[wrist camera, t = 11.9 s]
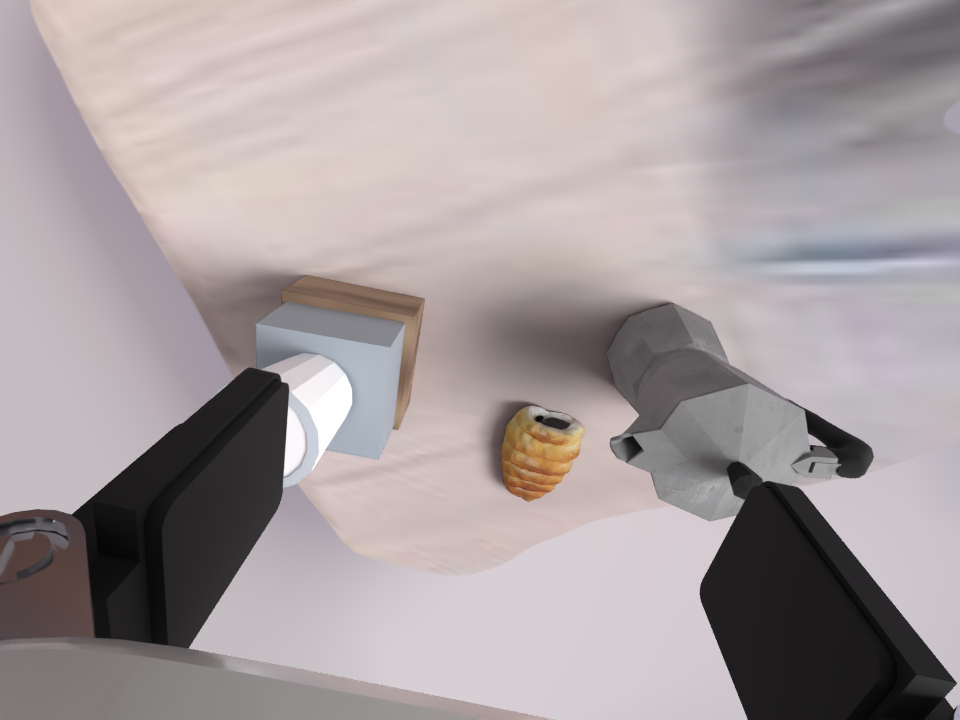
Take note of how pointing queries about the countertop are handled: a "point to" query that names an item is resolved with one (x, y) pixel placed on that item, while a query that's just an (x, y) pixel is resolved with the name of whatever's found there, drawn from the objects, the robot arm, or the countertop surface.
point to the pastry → (538, 451)
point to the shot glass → (310, 410)
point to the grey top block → (343, 365)
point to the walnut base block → (372, 305)
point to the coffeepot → (713, 419)
